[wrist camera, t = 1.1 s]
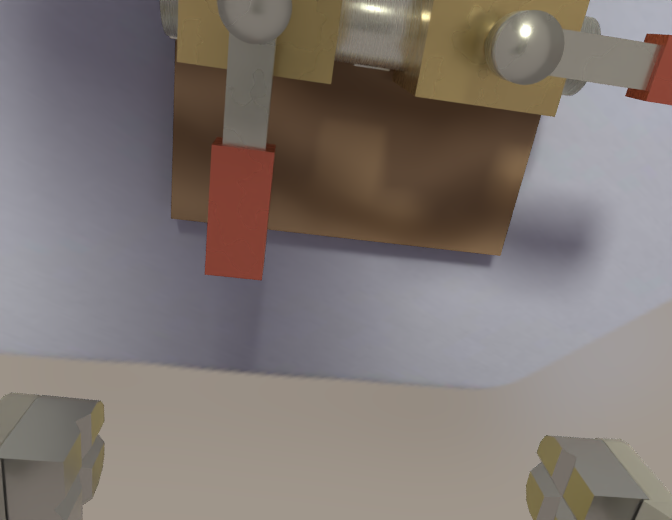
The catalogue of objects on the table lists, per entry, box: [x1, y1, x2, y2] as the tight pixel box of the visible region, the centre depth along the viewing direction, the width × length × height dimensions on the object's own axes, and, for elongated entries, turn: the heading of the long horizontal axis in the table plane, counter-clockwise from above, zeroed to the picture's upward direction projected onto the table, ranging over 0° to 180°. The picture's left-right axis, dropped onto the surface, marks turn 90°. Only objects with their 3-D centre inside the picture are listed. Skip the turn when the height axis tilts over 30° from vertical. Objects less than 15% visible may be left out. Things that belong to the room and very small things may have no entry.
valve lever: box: [205, 0, 292, 280], centre depth 23 cm, size 13×3×2 cm, turn 172°
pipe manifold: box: [160, 0, 672, 117], centre depth 26 cm, size 6×28×10 cm, turn 82°
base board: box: [171, 39, 541, 256], centre depth 33 cm, size 20×22×2 cm
